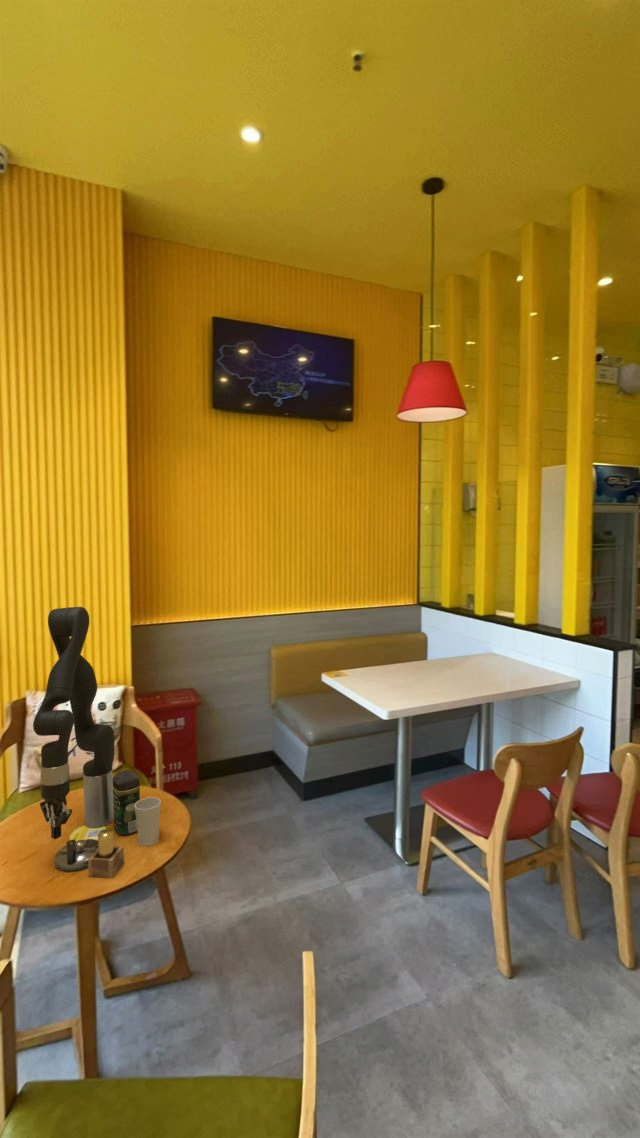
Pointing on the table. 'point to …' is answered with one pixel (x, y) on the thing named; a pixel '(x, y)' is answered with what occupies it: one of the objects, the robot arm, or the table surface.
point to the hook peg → (105, 843)
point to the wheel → (75, 855)
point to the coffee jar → (125, 801)
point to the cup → (148, 820)
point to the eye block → (106, 863)
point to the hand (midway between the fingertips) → (56, 837)
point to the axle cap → (80, 845)
